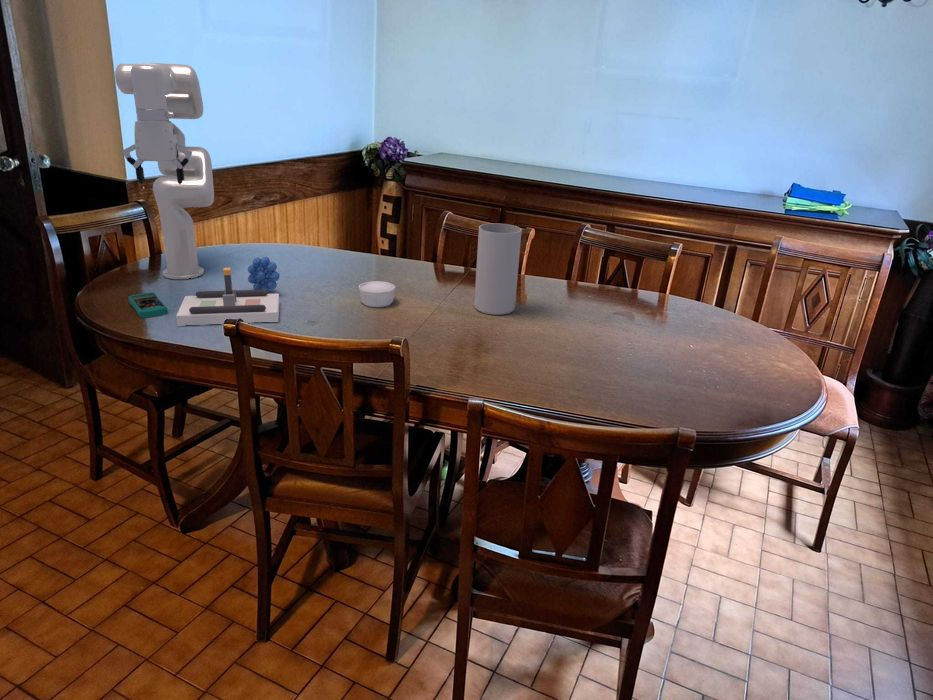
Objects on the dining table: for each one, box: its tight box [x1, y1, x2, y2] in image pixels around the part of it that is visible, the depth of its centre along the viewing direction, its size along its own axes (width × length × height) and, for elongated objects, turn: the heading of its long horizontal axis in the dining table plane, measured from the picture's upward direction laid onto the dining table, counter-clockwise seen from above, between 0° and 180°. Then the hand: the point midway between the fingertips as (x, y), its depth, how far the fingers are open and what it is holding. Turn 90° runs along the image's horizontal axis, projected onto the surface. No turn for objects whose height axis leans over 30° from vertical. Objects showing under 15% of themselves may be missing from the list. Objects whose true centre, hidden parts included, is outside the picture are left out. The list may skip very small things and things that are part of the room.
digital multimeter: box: [128, 292, 169, 319], centre depth 185 cm, size 7×15×3 cm, turn 37°
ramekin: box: [358, 280, 396, 308], centre depth 199 cm, size 11×11×5 cm
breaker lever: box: [222, 267, 235, 296], centre depth 181 cm, size 3×2×10 cm
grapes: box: [247, 256, 280, 293], centre depth 200 cm, size 12×7×12 cm, turn 68°
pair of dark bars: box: [189, 289, 269, 314], centre depth 183 cm, size 15×20×2 cm
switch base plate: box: [176, 288, 280, 327], centre depth 183 cm, size 16×26×6 cm, turn 104°
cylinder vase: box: [473, 222, 523, 316], centre depth 195 cm, size 12×12×25 cm
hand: (161, 182), depth 177 cm, fingers open, 9 cm apart
